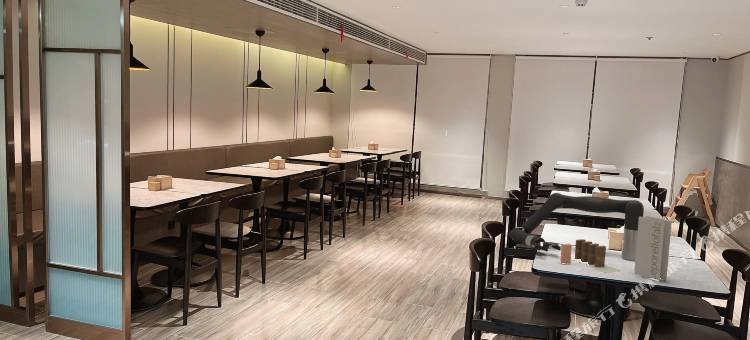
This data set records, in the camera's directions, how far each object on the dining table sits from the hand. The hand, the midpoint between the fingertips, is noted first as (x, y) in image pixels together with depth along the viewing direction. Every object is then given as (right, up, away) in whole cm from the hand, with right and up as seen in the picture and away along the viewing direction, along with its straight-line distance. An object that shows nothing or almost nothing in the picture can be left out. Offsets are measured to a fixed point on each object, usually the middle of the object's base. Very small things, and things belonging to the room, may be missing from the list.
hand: (553, 249), depth 312 cm
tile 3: (+16, -6, -3) cm, 18 cm away
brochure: (+39, -10, -28) cm, 50 cm away
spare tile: (+3, -7, -8) cm, 11 cm away
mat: (+17, -7, -5) cm, 19 cm away
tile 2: (+15, -6, +1) cm, 16 cm away
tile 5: (+20, -7, -12) cm, 25 cm away
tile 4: (+18, -7, -8) cm, 21 cm away
